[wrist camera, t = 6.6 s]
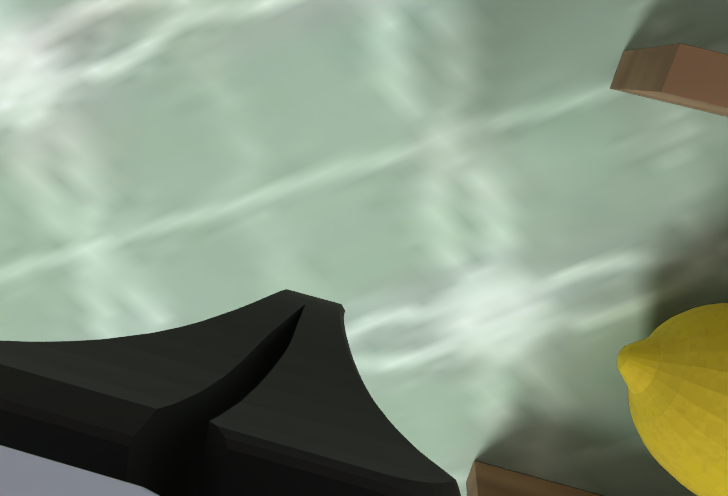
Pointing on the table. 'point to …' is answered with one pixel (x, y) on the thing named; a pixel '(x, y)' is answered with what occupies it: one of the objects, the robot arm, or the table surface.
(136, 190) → the table surface
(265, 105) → the table surface
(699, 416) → the lemon
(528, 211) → the table surface
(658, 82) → the frame
